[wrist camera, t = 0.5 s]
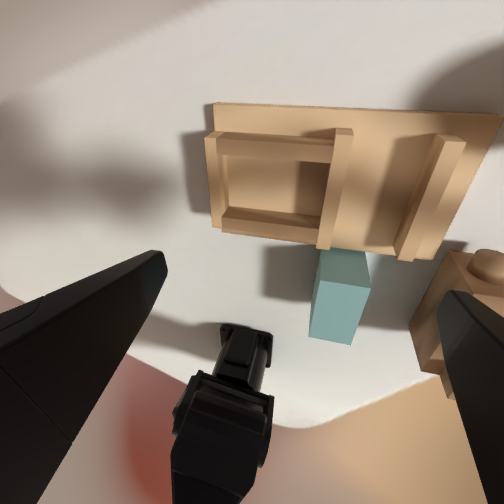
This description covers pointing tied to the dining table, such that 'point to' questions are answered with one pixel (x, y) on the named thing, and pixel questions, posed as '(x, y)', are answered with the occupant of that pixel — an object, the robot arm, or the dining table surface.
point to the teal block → (339, 295)
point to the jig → (344, 174)
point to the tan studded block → (460, 278)
